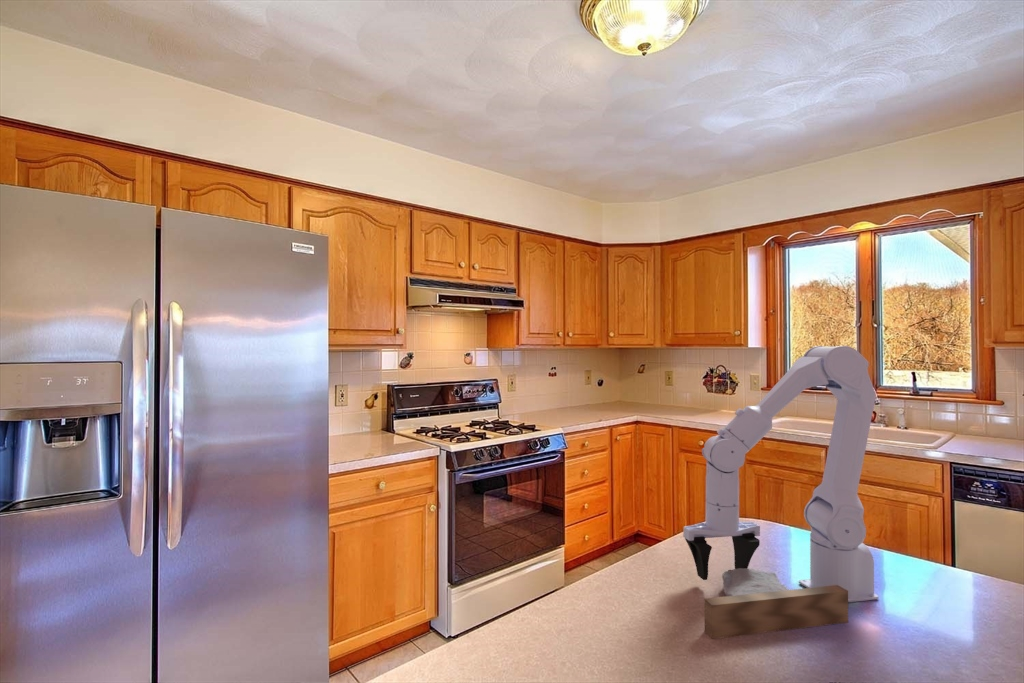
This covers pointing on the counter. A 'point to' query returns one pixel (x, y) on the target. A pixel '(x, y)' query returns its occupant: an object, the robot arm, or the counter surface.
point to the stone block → (750, 582)
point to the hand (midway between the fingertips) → (721, 575)
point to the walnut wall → (775, 611)
